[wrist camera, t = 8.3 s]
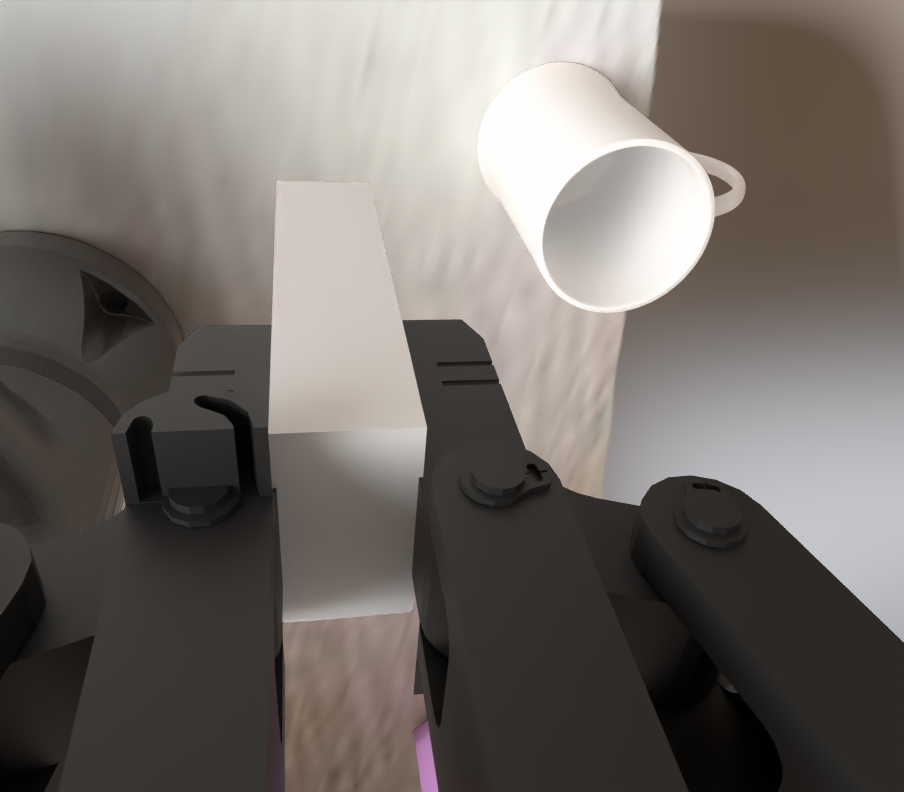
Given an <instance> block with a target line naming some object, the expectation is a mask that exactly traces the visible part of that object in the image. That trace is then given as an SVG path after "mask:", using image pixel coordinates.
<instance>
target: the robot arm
mask: <svg viewBox="0 0 904 792" xmlns="http://www.w3.org/2000/svg"><path fill="white" fill-rule="evenodd" d="M124 498H125V503H126V506H125V509H124V510H122V511H121V507H122V503H123V499H124ZM414 589H415V595H416V601H417V607H418V613H419V619H420V626H419V637H418V649H417V660H416V672H415V684H414V695H415V694H424V700H425V707H426V714H427V720H428V727H429V733H430V740H431V746H432V753H433V759H434V766H435V772H436V779H437V785H438V792H904V642H902V641H901V640H900V639H899V638H898V637H897V636H896V635H895V634H894V633H893V632H892V631H891V630H890V629H889V628H888V627H887V626H886V625H885V624H883V622H882V621H881V620H880V619H879V618H877V616H875V615H874V614H873V613H872V612H871V611H870V610H869V609H868V608H867V607H866V606H865V605H864V604H863V603H862V602H861V601H860V600H859V599H858V598H857V597H856V596H855V595H853V593H851V591H850V590H849V589H847V588H846V587H845V586H844V585H843V584H842V583H841V582H840V581H839V580H838V579H837V578H836V577H835V576H834V575H833V574H832V573H831V572H830V571H829V570H828V569H827V568H826V567H825V566H823V565H822V564H821V563H820V562H819V561H818V560H817V559H816V558H815V557H814V556H813V555H812V554H811V553H810V552H809V551H808V550H807V549H806V548H805V547H804V546H803V545H802V544H801V543H800V542H799V541H798V540H797V539H796V538H795V537H793V536H792V535H791V534H790V533H789V532H788V531H787V530H786V529H785V528H784V527H783V526H782V525H781V524H780V523H779V522H778V521H777V520H776V519H775V518H774V517H773V516H772V515H771V514H770V513H768V511H767V510H765V509H764V508H763V507H762V506H761V505H760V504H759V503H757V502H756V501H754V500H753V499H752V498H750V497H749V496H748V495H746V494H745V493H744V492H742V491H741V490H739V489H736V488H734V487H732V486H729V485H727V484H724V483H722V482H720V481H718V480H714V479H708V478H702V477H696V476H680V477H669V478H666V479H664V480H662V481H660V482H658V483H656V484H654V485H652V486H651V487H650V488H649V490H648V491H647V493H646V494H645V496H644V498H643V499H642V501H641V505H640V506H637V505H631V504H625V503H620V502H614V501H609V500H604V499H598V498H594V497H590V496H586V495H582V494H578V493H576V492H573V491H571V490H569V489H567V488H564V487H563V486H562V484H561V481H560V479H559V478H558V476H557V475H556V474H555V472H554V471H553V469H552V468H551V466H550V465H549V464H548V463H547V462H545V461H544V460H542V459H541V458H539V457H538V456H536V455H535V454H534V453H532V452H531V451H528V450H526V449H525V446H524V444H523V441H522V438H521V436H520V433H519V431H518V428H517V425H516V423H515V420H514V418H513V415H512V412H511V410H510V407H509V404H508V402H507V399H506V397H505V394H504V391H503V389H502V386H501V384H499V378H498V376H497V373H496V370H495V368H494V365H492V360H491V357H490V355H489V352H488V350H487V347H486V344H485V342H484V339H483V338H482V337H481V336H480V335H479V334H477V333H476V332H475V331H474V330H473V329H472V328H471V327H469V326H468V325H467V324H466V323H465V322H464V321H462V320H402V318H401V313H400V309H399V305H398V300H397V296H396V292H395V287H394V283H393V279H392V275H391V270H390V266H389V262H388V257H387V253H386V249H385V244H384V240H383V236H382V231H381V227H380V223H379V218H378V214H377V210H376V206H375V201H374V197H373V193H372V188H371V184H370V182H332V181H276V211H275V241H274V271H273V302H272V325H241V326H198V327H197V328H196V329H195V330H194V331H193V332H192V333H191V334H190V336H189V337H188V338H187V339H186V340H185V341H184V340H183V336H182V333H181V330H180V328H179V325H178V323H177V321H176V319H175V317H174V315H173V313H172V311H171V310H170V308H169V307H168V305H167V304H166V302H165V301H164V300H163V298H162V297H161V296H160V294H159V293H158V292H157V291H156V290H155V289H154V288H153V287H152V286H151V285H150V284H149V283H148V282H147V281H146V280H145V279H144V278H143V277H142V276H140V275H139V274H138V273H137V272H136V271H134V270H133V269H132V268H130V267H129V266H127V265H126V264H124V263H123V262H121V261H120V260H118V259H116V258H115V257H113V256H111V255H109V254H107V253H105V252H103V251H101V250H99V249H97V248H95V247H92V246H90V245H88V244H85V243H82V242H79V241H76V240H73V239H69V238H66V237H62V236H57V235H52V234H46V233H39V232H27V231H7V232H0V792H284V774H285V665H284V651H283V623H290V622H302V621H314V620H326V619H338V618H349V617H361V616H373V615H385V614H397V613H409V612H413V600H414Z"/></svg>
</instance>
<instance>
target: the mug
mask: <svg viewBox="0 0 904 792" xmlns="http://www.w3.org/2000/svg"><path fill="white" fill-rule="evenodd" d="M477 154H478V163H479V168H480V171H481V174H482V177H483V179H484V182H485V184H486V185H487V187H488V189H489V190H490V192H491V193H492V194H493V195H494V197H495V198H496V199H497V200H498V201H499V202H500V203H502V205H503V206H504V208H505V210H506V212H507V213H508V215H509V217H510V219H511V220H512V222H513V224H514V226H515V228H516V229H517V231H518V233H519V235H520V236H521V238H522V240H523V242H524V244H525V245H526V247H527V249H528V251H529V252H530V254H531V256H532V258H533V259H534V261H535V263H536V265H537V267H538V268H539V270H540V272H541V274H542V275H543V277H544V279H545V280H546V282H547V283H548V285H549V286H550V287H551V288H552V290H553V291H554V292H555V293H556V294H557V295H558V296H560V297H561V298H562V299H564V300H565V301H567V302H568V303H570V304H572V305H574V306H576V307H579V308H581V309H584V310H588V311H593V312H603V313H611V312H621V311H627V310H631V309H635V308H638V307H641V306H643V305H645V304H648V303H650V302H652V301H654V300H656V299H658V298H659V297H661V296H663V295H664V294H666V293H667V292H669V291H670V290H671V289H672V288H674V287H675V286H676V285H677V284H679V283H680V282H681V281H682V280H683V279H684V278H685V277H686V276H687V275H688V274H689V272H690V271H691V270H692V269H693V267H694V266H695V265H696V263H697V262H698V260H699V259H700V257H701V256H702V254H703V252H704V250H705V248H706V246H707V243H708V241H709V238H710V236H711V232H712V228H713V224H714V218H715V217H716V216H719V215H722V214H725V213H727V212H729V211H731V210H733V209H734V208H736V207H737V206H738V205H739V204H740V203H741V201H742V200H743V198H744V195H745V191H746V186H745V181H744V179H743V177H742V175H741V174H740V173H739V172H738V171H737V170H736V169H734V168H733V167H731V166H730V165H728V164H726V163H724V162H722V161H719V160H717V159H714V158H711V157H708V156H705V155H701V154H696V153H692V152H688V151H687V150H686V149H684V148H683V147H682V146H681V145H680V144H678V143H677V142H676V141H675V140H674V139H672V138H671V137H670V136H669V135H667V134H666V133H665V132H664V131H662V130H661V129H660V128H659V127H658V126H656V125H655V124H654V123H652V122H651V121H650V120H649V119H648V118H646V117H645V116H644V115H643V114H642V113H640V112H639V111H638V110H637V109H635V108H634V107H633V106H632V105H630V104H629V103H628V102H627V101H626V100H624V99H623V98H622V97H621V96H620V95H619V93H618V91H617V90H616V88H615V87H614V86H613V85H612V83H611V82H610V81H609V80H608V79H606V78H605V77H604V76H603V75H602V74H600V73H599V72H597V71H595V70H593V69H591V68H589V67H587V66H584V65H581V64H577V63H570V62H554V63H548V64H543V65H540V66H537V67H534V68H532V69H530V70H527V71H525V72H524V73H522V74H520V75H519V76H517V77H516V78H514V79H513V80H512V81H510V82H509V83H508V84H507V85H506V86H505V87H504V88H503V89H502V90H501V91H500V92H499V93H498V95H497V96H496V97H495V99H494V100H493V101H492V103H491V105H490V106H489V108H488V110H487V112H486V114H485V116H484V118H483V121H482V124H481V127H480V131H479V136H478V145H477ZM707 173H708V174H712V175H714V176H716V177H718V178H720V179H722V180H724V181H725V182H727V183H728V184H729V185H730V186H731V187H732V188H733V189H732V190H731V191H729V192H728V193H725V194H723V195H720V196H717V197H714V192H713V188H712V184H711V181H710V179H709V177H708V175H707Z"/></svg>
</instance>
